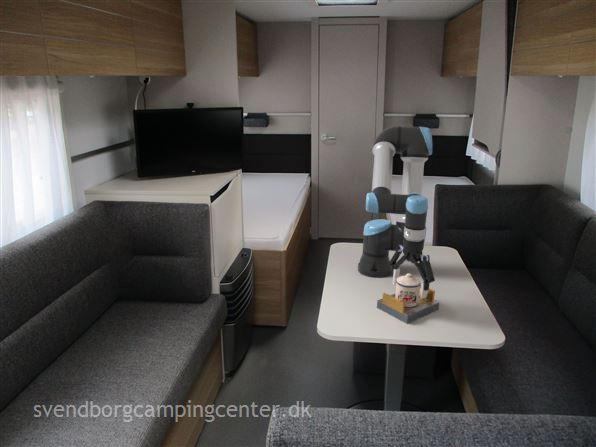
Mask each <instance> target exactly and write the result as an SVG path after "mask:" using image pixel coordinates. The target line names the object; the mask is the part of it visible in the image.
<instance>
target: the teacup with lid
mask: <svg viewBox="0 0 596 447" xmlns="http://www.w3.org/2000/svg"><path fill="white" fill-rule="evenodd" d="M420 285H422V281H421V280H420V278H418V277H415V276H413V274H411V273H406V274H405V275H400V276H399V277H398V278H397V280H396V285H395V294H396V295H395V298H396V299H398V300H400V301H402V302H404V303H405V307H414V306H416V305H417V304H418V300H419V298H420V296H419V289H420V288H421V286H420ZM427 294H428V290H427Z"/></svg>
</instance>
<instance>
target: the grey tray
mask: <svg viewBox="0 0 596 447" xmlns="http://www.w3.org/2000/svg"><path fill="white" fill-rule="evenodd" d="M421 285H422V284H420V286H421ZM435 293H436V291H435V290H434V289H432V288H429V290H428V294H427V297H425V298H422V299H421V298H419V300H418V304H417V305H416V306H414V307H405V303H404V302H402V301H400V300H398V299H396V298H395V295H396V293H394V294H388V293H385V292H384V293H382V298H380V299H377V303H376V308H377V309H379V310H381V311H382V312H384V313H386V314H388V315H390V316H392V317H394V318H395V319H398V320H400V321H401V322H403V323H405V324H410V323H412V322H414V321H417V320H419V319H421V318H423V317H425V316H428V315H430V314H432V313H435V312H437V311H439V307H440V301H437V300H435V296H436V294H435ZM420 295H421V288H420V289H419V296H420Z"/></svg>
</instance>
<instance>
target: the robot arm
mask: <svg viewBox="0 0 596 447" xmlns="http://www.w3.org/2000/svg"><path fill="white" fill-rule="evenodd" d="M395 154H398V155H399V154H400V159H401V161H403V169H402V170H403V172H402V183H401V184H402V186H401V194H397V193H392V186H393V185H392V181H393V180H392V179H393V162H394V161H393V159H394V158H393V157H394V156H395ZM432 154H433V136H432V130H431V129H430V128H429V127H425V126H398V125H392V126H389V127H387V128H385V129H383V130H382V131H381V132H380V133H379V134H378V135H377V136H376V138H375V139H374V141H373V145H372V155H373V158H374V160H373V170H372V171H373V173H372V185H371V192H367V194H366V196H365V197H366V199H365V211H366V212H368V213H375V214H393V215H399V217H398V218H397V219H396V222H395V224H394V223H392V222H391V220H389V219H384V218H383V219H382V218H381V219H380V218H379V219H373V220H369V221H367V222H366V223H365V224H364V227H363V240H362V241H363V242H362V254H361V256H360V259H359V262H358V265H357V271H358V273H360V275H361V274H362V275H363V276H366V277H371V278H383V277H388V276H390V275H392V276H393V277H392V286H396V280H397V278H398V277H400V276H401V275H400V274H401V273H400V272H401V268H400V266H401V265H402V264H403V263H404V262H410V263H411V264H414V267H416V269H417V270H418V272H419V274H420V277H421V278H422V281H421V284H420V285H421V295H420V298H421V299H422V298H425V297H427V290H429V289H430V284H431V283H434V282H435V281H436V279H435V276H434V275H435V274H434V272H433V269H432V264H431V262H430V260H431V259H430V258H431V257H430V254H423V250H424V248H425V246H424V245H425V242H426V237H427V226H426V225H427V224H426V223H427V216H428V215H427V214H428V209H429V200H428V198H427V197H425V196H423V184H424V180H423V179H424V171H425V170H424V168H425V167H424V166H425V162H427V161H428V160H429V156H431V155H432ZM392 251H393V252H394V254H393V256H392V257H391V259H390V255H389V254H390V252H392ZM402 253H403V255H402ZM400 256H401V257H400ZM399 258H400V259H399Z"/></svg>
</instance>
